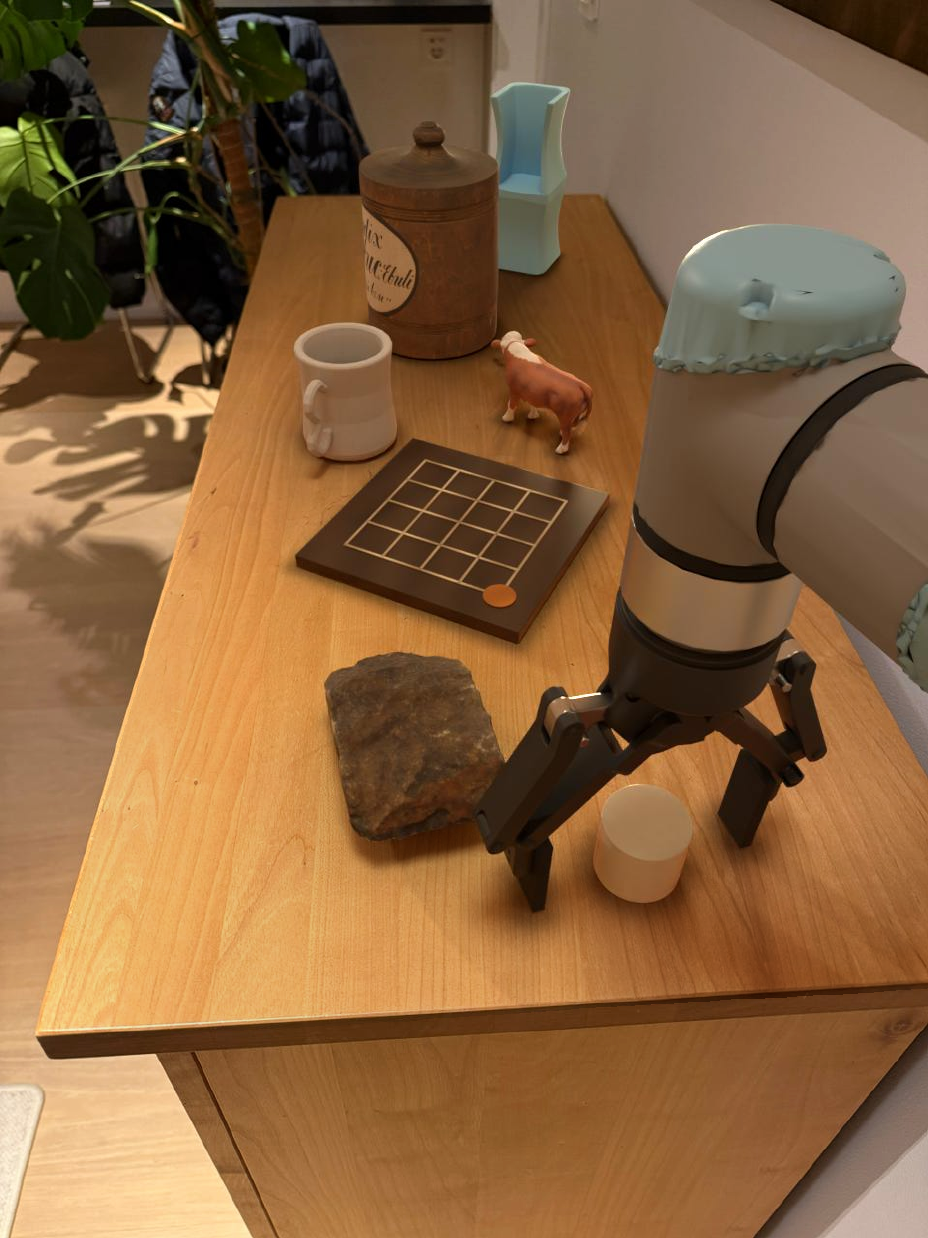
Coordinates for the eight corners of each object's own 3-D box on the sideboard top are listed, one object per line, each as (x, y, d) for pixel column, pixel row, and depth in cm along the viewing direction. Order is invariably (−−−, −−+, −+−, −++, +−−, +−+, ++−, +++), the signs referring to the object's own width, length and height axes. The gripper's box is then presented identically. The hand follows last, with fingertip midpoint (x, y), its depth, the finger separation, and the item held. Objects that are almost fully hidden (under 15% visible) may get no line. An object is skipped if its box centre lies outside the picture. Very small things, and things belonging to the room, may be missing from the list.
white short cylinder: (690, 847, 56) (704, 804, 53) (664, 917, 52) (678, 875, 49) (610, 815, 57) (619, 771, 54) (580, 881, 54) (588, 838, 51)
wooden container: (358, 311, 110) (343, 108, 95) (475, 297, 113) (479, 99, 98) (384, 368, 100) (372, 150, 85) (513, 351, 103) (523, 139, 88)
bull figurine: (511, 393, 96) (515, 319, 90) (596, 450, 88) (606, 373, 83) (478, 405, 94) (479, 330, 89) (562, 464, 86) (570, 386, 81)
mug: (330, 407, 93) (321, 314, 87) (412, 425, 91) (409, 330, 84) (270, 471, 85) (254, 373, 78) (358, 492, 83) (350, 393, 76)
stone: (467, 681, 66) (461, 619, 62) (524, 831, 55) (521, 767, 52) (330, 713, 65) (315, 651, 61) (361, 873, 54) (345, 810, 50)
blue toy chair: (485, 266, 120) (489, 96, 107) (506, 245, 126) (512, 80, 112) (542, 276, 118) (553, 103, 104) (560, 254, 123) (574, 87, 110)
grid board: (608, 504, 82) (610, 492, 81) (518, 644, 69) (519, 631, 68) (413, 448, 88) (412, 436, 87) (296, 566, 75) (294, 553, 74)
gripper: (885, 500, 46) (779, 761, 60) (407, 603, 40) (418, 864, 55) (991, 596, 41) (847, 855, 55) (462, 730, 35) (457, 980, 49)
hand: (634, 860), depth 55 cm, fingers open, 13 cm apart
